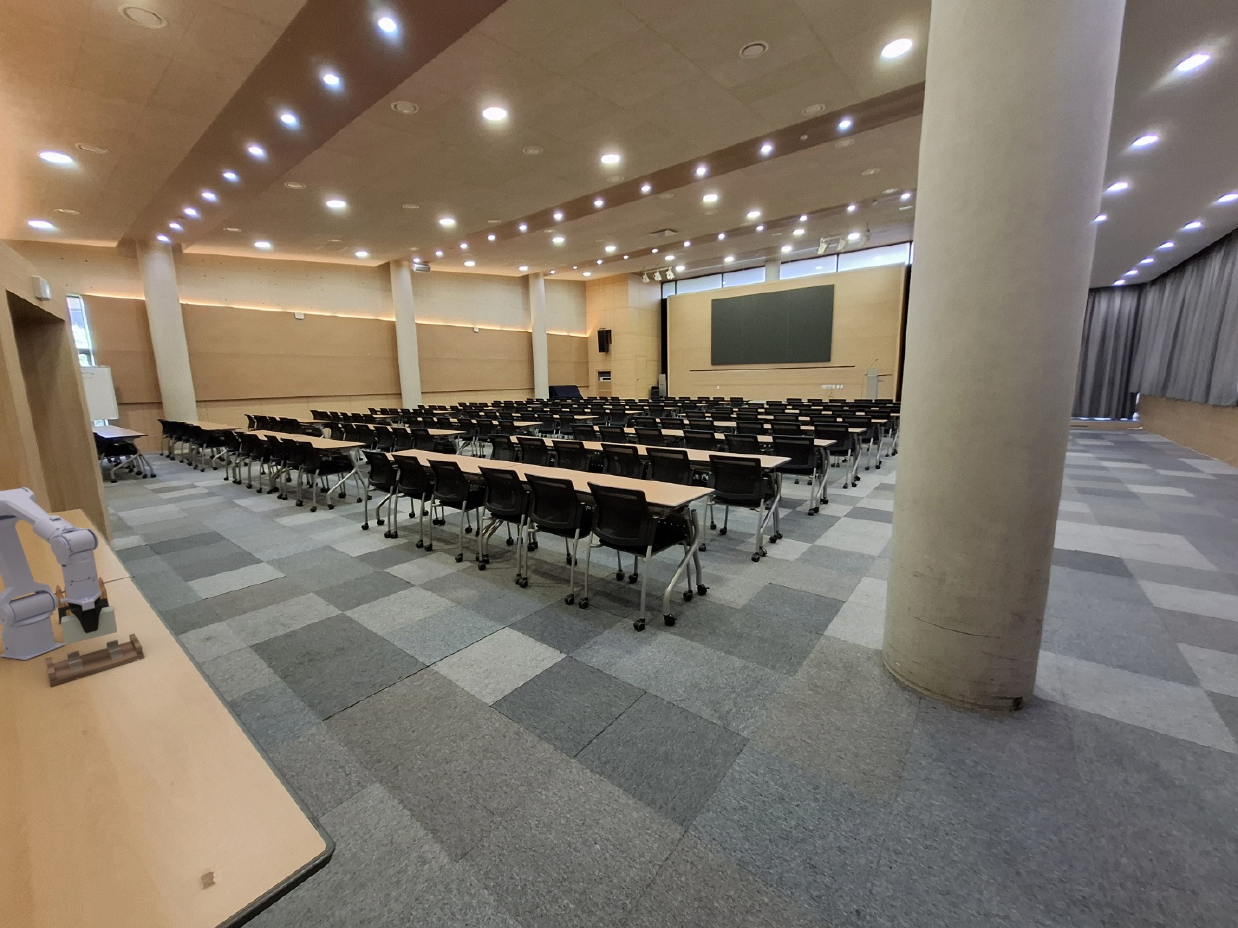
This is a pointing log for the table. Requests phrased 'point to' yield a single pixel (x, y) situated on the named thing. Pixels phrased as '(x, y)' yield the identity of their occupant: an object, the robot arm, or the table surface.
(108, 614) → the tapered sage green block
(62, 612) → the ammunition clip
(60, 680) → the brown wooden holder
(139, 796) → the table surface
